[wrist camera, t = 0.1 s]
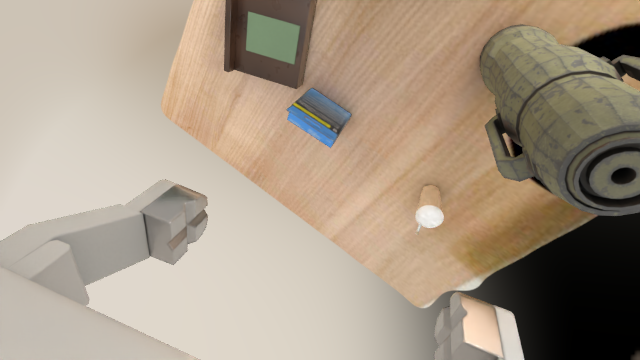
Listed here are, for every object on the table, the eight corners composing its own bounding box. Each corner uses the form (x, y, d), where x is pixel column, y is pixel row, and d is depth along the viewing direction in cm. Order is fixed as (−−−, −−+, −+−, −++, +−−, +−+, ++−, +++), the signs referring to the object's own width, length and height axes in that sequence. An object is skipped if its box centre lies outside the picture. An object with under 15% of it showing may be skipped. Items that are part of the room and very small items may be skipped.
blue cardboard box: (302, 104, 60) (275, 128, 50) (312, 86, 58) (285, 108, 48) (342, 130, 61) (322, 159, 51) (353, 114, 58) (334, 141, 48)
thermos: (456, 63, 49) (477, 175, 21) (537, 0, 42) (730, 37, 14) (491, 106, 51) (554, 266, 22) (573, 52, 44) (814, 180, 16)
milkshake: (410, 194, 63) (405, 226, 55) (429, 177, 60) (427, 207, 52) (428, 208, 63) (427, 241, 55) (448, 191, 60) (449, 223, 52)
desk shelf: (244, -52, 50) (226, -55, 46) (322, -32, 48) (311, -33, 44) (238, 64, 60) (223, 70, 56) (302, 84, 58) (292, 92, 54)
